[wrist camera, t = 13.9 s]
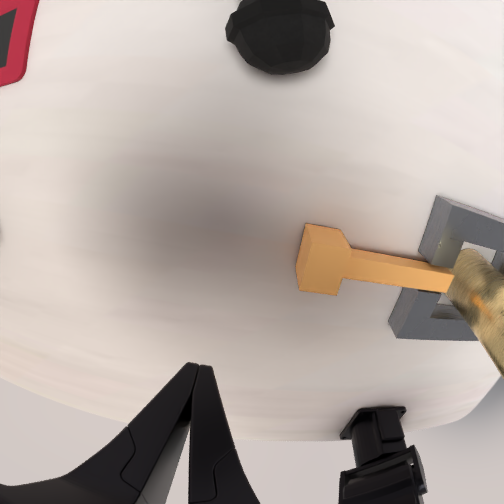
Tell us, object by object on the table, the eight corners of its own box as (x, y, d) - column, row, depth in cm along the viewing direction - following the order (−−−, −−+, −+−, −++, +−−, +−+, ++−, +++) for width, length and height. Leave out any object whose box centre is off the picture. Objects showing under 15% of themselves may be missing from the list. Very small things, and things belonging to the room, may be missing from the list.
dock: (474, 326, 23) (484, 340, 21) (388, 321, 23) (396, 338, 21) (520, 226, 18) (535, 236, 16) (436, 195, 18) (452, 204, 16)
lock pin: (430, 287, 21) (446, 308, 18) (295, 266, 21) (299, 290, 18) (445, 251, 20) (464, 270, 17) (305, 223, 19) (312, 242, 17)
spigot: (468, 298, 22) (541, 403, 10) (432, 294, 22) (507, 415, 10) (488, 253, 20) (581, 349, 8) (453, 244, 20) (555, 354, 8)
